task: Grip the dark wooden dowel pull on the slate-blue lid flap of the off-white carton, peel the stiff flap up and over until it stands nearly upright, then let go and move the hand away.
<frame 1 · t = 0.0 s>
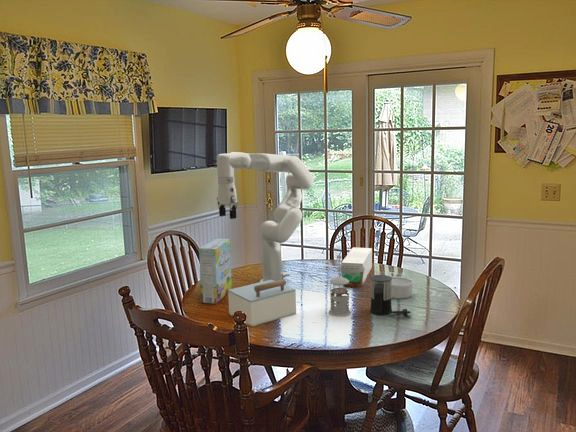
hand: (227, 217, 238), 37 cm above the table, tool pointing down, fingers open, 9 cm apart
snack box: (217, 296, 240), on the table
long white box: (357, 275, 268), on the table
lid flap: (261, 285, 213), point 13 cm above the table, hinge at 0.0°
ramekin: (398, 295, 235), on the table
milk frother: (389, 313, 213), on the table
french press: (338, 312, 216), on the table
food container: (351, 287, 248), on the table
carton: (262, 313, 216), on the table
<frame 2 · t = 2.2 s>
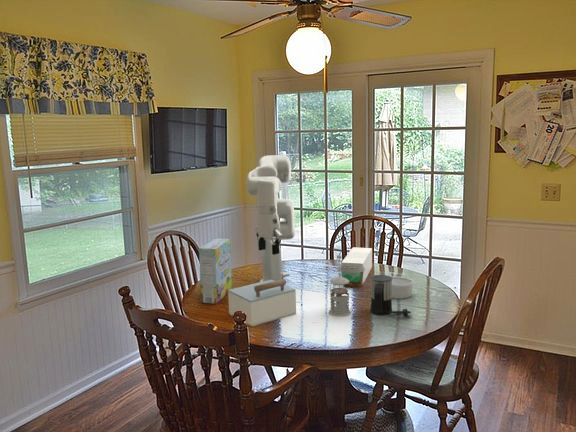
hand: (268, 251, 206), 28 cm above the table, tool pointing down, fingers open, 9 cm apart
nothing on the table moved.
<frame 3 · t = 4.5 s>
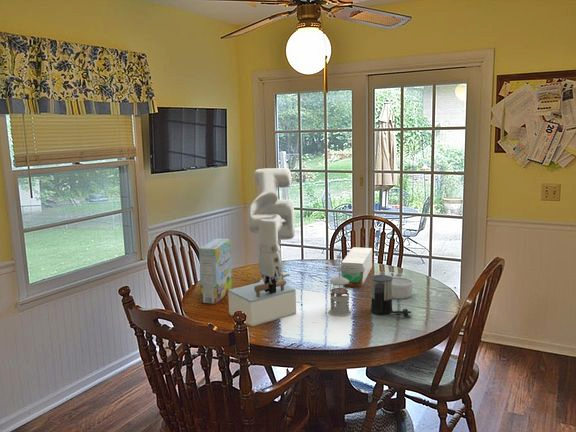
hand: (270, 291, 209), 11 cm above the table, tool pointing down, fingers closed on lid flap, 2 cm apart
lid flap: (261, 285, 213), point 13 cm above the table, hinge at 0.0°, touching gripper
everything else where it was.
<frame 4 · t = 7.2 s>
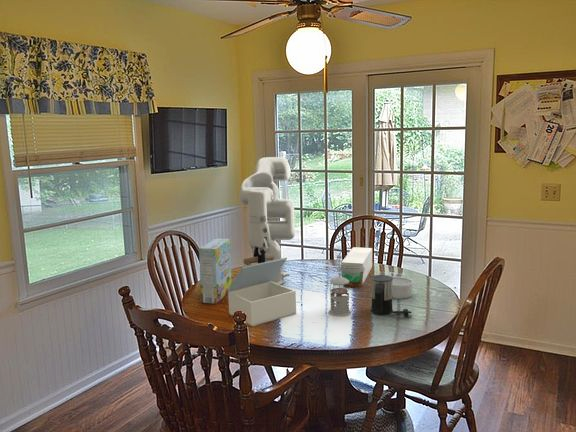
hand: (259, 262, 212), 22 cm above the table, tool pointing down, fingers closed on lid flap, 2 cm apart
lid flap: (255, 269, 216), point 18 cm above the table, hinge at 45.0°, touching gripper
everything else where it was.
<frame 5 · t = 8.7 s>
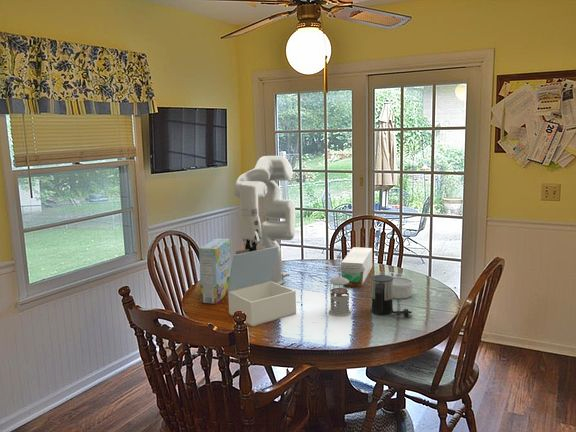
hand: (250, 255, 217), 24 cm above the table, tool pointing down, fingers closed on lid flap, 2 cm apart
lid flap: (250, 265, 219), point 19 cm above the table, hinge at 68.5°, touching gripper
everything else where it was.
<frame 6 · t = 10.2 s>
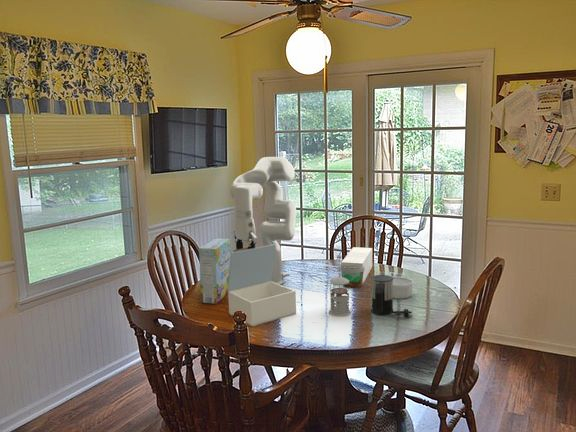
hand: (245, 253, 221), 24 cm above the table, tool pointing down, fingers open, 9 cm apart
lid flap: (249, 265, 220), point 19 cm above the table, hinge at 75.1°, touching gripper
everything else where it was.
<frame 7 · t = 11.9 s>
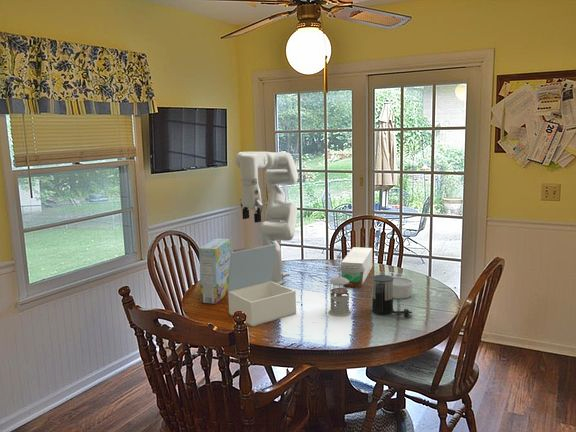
hand: (251, 220, 227), 37 cm above the table, tool pointing down, fingers open, 9 cm apart
lid flap: (249, 265, 220), point 19 cm above the table, hinge at 75.1°
everything else where it was.
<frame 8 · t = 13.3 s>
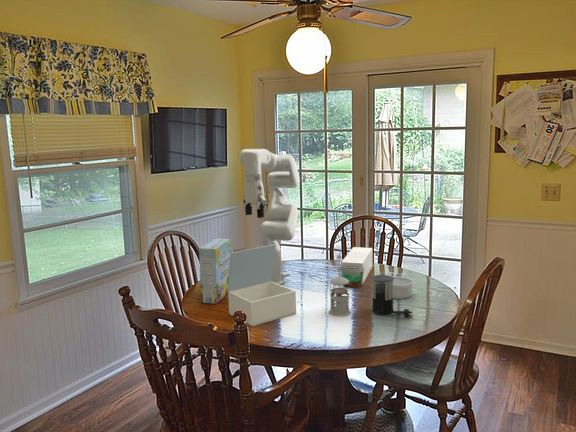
hand: (254, 216, 230), 38 cm above the table, tool pointing down, fingers open, 9 cm apart
nothing on the table moved.
at the end: lid flap at +75° (first picture: +0°); the gripper is holding nothing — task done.
